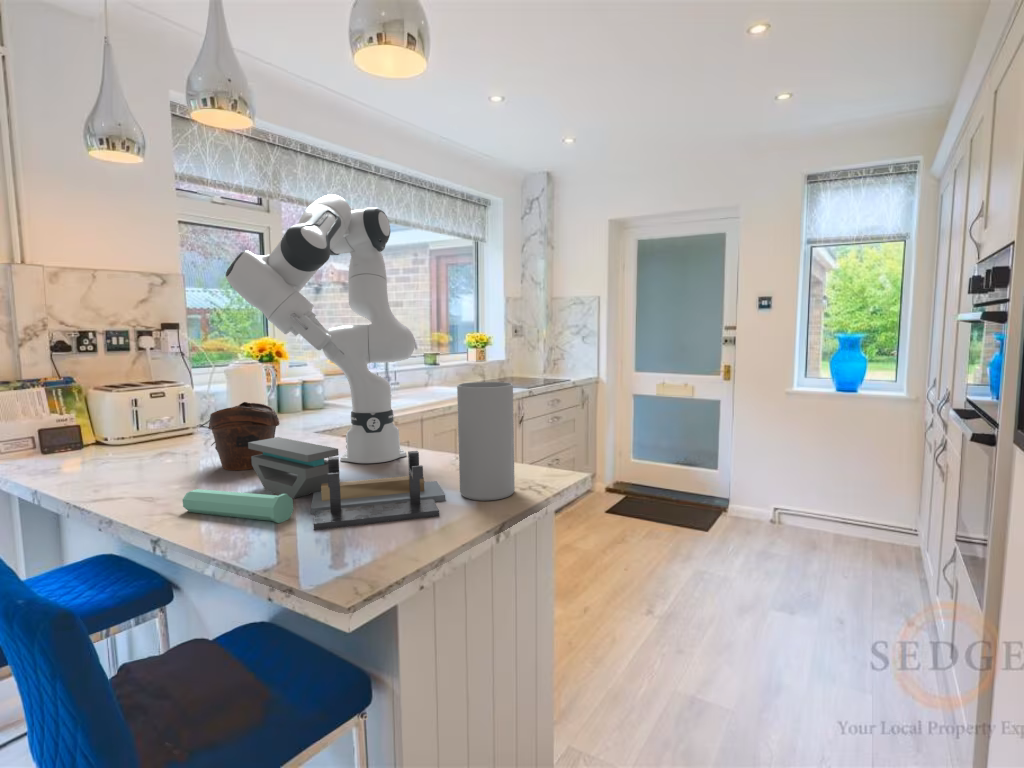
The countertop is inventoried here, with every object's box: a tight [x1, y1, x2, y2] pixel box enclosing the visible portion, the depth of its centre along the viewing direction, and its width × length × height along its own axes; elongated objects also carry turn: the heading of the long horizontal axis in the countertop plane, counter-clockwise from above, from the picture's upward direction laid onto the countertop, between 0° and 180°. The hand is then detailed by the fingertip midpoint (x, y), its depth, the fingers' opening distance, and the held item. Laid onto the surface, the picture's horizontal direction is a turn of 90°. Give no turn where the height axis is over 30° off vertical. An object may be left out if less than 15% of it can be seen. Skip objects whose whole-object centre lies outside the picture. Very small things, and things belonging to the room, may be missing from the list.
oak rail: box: [320, 475, 425, 501], centre depth 126 cm, size 3×22×3 cm, turn 106°
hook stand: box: [313, 450, 440, 531], centre depth 114 cm, size 8×24×12 cm, turn 107°
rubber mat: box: [310, 480, 446, 515], centre depth 126 cm, size 12×28×1 cm, turn 107°
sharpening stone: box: [248, 436, 340, 499], centre depth 133 cm, size 25×8×11 cm, turn 53°
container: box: [182, 488, 294, 524], centre depth 116 cm, size 6×6×25 cm
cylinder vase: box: [456, 381, 516, 502], centre depth 128 cm, size 12×12×25 cm
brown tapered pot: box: [208, 401, 280, 471], centre depth 160 cm, size 18×20×18 cm
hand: (342, 358), depth 127 cm, fingers open, 8 cm apart
